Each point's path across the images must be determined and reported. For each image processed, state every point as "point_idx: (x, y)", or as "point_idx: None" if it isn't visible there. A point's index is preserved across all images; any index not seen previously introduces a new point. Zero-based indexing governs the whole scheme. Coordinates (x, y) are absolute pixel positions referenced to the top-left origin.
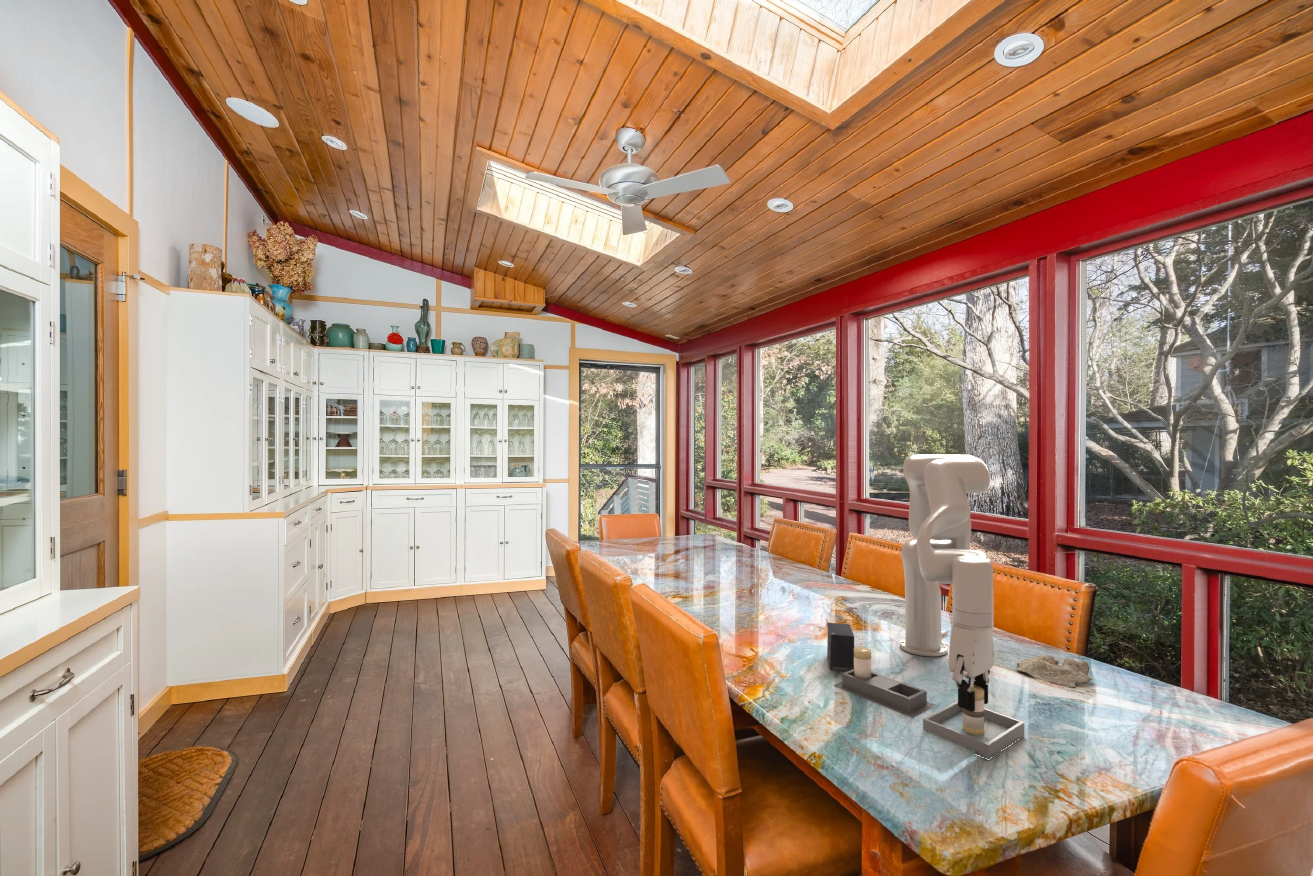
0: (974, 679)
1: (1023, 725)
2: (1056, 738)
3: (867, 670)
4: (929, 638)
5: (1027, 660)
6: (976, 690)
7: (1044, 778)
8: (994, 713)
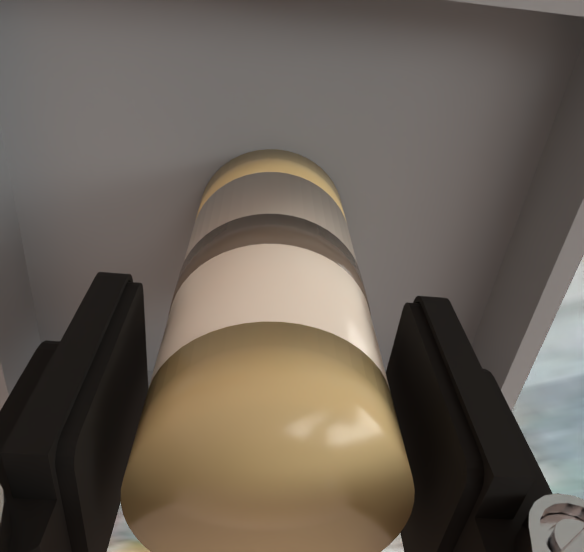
0: (524, 521)
1: None
2: (540, 468)
3: None
4: None
5: None
6: (242, 543)
7: (118, 518)
8: (532, 312)
